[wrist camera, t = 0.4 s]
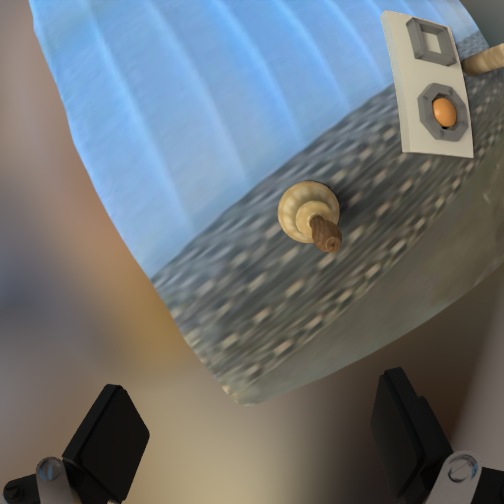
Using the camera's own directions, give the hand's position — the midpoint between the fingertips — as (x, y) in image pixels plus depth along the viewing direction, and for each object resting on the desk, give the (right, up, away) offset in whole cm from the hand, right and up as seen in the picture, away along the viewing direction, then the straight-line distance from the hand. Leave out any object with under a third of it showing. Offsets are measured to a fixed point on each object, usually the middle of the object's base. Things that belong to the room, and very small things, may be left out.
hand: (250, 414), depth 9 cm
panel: (+26, +30, +21) cm, 45 cm away
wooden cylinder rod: (+35, +36, +19) cm, 54 cm away
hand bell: (+8, +11, +28) cm, 31 cm away
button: (+26, +25, +21) cm, 42 cm away
